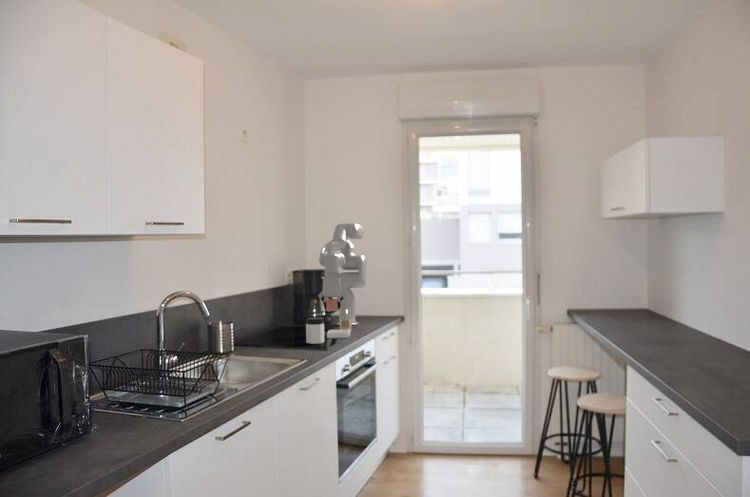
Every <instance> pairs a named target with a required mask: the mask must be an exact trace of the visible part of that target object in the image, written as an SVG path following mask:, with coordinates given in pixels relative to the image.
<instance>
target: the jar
mask: <svg viewBox="0 0 750 497" xmlns="http://www.w3.org/2000/svg"><path fill="white" fill-rule="evenodd" d="M305 335H306V336H305V338H306V341H305V342H306V344H310V345H312V344H313V345H315V344H318V345H319V344H323V343H325V323H324V317H307V318H306V323H305Z"/></svg>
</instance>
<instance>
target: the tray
mask: <svg viewBox="0 0 750 497" xmlns="http://www.w3.org/2000/svg"><path fill="white" fill-rule="evenodd" d="M350 336H351V332H350V330H340V329H329V330H327V332H326V339H349V338H350Z"/></svg>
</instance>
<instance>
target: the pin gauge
mask: <svg viewBox="0 0 750 497" xmlns="http://www.w3.org/2000/svg"><path fill="white" fill-rule="evenodd" d="M343 321H348V310H343Z"/></svg>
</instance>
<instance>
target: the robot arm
mask: <svg viewBox="0 0 750 497" xmlns="http://www.w3.org/2000/svg"><path fill="white" fill-rule="evenodd" d="M363 237H364V228H363V226H362V225H361V224H359V223H355V222H353V223H351V222H350V223H338V224H337V225H336V226H335V227H334V231H333V235H332V239H331V240H330V241H328V242H327V243H326V244H324V245H323V246H322V248H321V251H320V254H319V260H318V261H319V264H320V266H322V267H324V278H323V281H322V291H320V293H318V295H317V297H319V299H320V300H321V301H322V302H323V305H324V306H323V307H324V309H325V310H326V300H327V299H329V298H336V299H338V309H339V310H338V311H339V312H338V313H339V315H338V316H339V318H338V319H339V322H336V325H337V326H340V320H343V310H348V320H351V326H356V325H358V324H359V322H358V321H356V301H355V300H356V298H355V297H356V296H355V293H354V292H353V290H352V289H362V288H364V287H366V284H367V259H366V256H365V255H363V254H355V245H354V244H353V243H352V242H351V241H350V240H360V239H361V240H362V238H363ZM338 251H340V252H338ZM339 267H340V269H341V270H343V271H344V272H339ZM352 271H353V272H352Z"/></svg>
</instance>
